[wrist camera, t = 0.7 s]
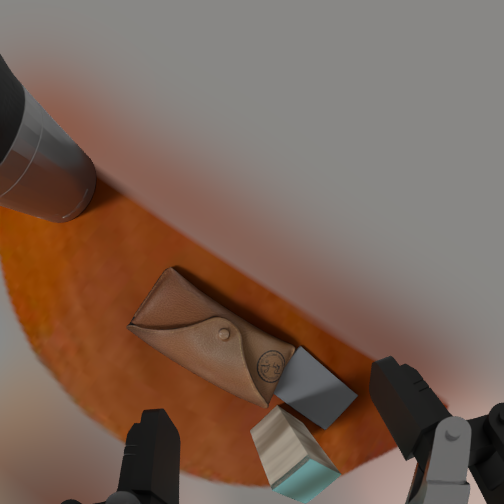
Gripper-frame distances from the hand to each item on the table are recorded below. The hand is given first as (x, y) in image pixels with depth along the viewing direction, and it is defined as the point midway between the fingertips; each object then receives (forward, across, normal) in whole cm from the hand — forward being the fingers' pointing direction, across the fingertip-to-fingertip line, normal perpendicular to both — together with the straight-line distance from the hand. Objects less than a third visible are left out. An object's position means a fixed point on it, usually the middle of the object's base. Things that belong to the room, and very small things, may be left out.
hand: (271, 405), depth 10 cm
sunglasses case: (+20, +5, +11) cm, 23 cm away
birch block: (+15, 0, +24) cm, 29 cm away
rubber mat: (+17, -6, +21) cm, 28 cm away
